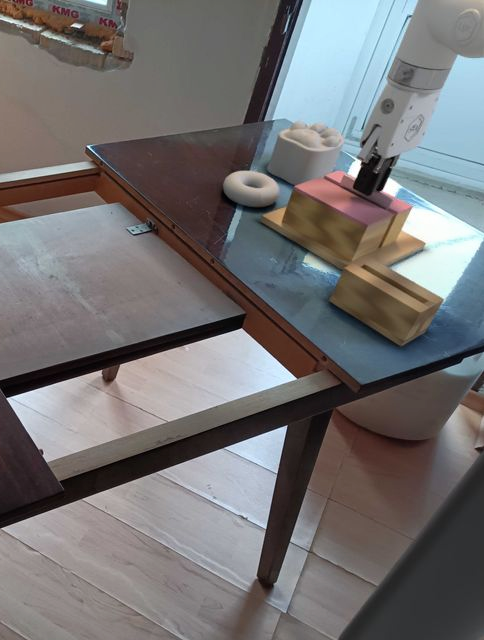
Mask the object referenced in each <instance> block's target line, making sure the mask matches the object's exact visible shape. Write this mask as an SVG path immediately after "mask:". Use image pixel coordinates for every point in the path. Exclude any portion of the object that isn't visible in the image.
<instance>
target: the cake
mask: <svg viewBox="0 0 484 640" xmlns="http://www.w3.org/2000/svg"><path fill="white" fill-rule="evenodd" d="M393 215H394V214H392V213H390V212H388V211H386V210H384V209H382V208H380V207H378V206H376V205H374V204H372V203H370V202H368V201H367V200H365V199H363V198H361V197H359V196H357V195H355V194H353V193H351V192H349V191H347V190H345V189H343V188H341V187H339V186H337V185H335V184H333V183H331V182H329V181H327V180H325V179H323V178H321V177H319V178H316V179H313V180H310V181H307V182H304V183H302V184H299V185H294V186H293V188H292V191H291V193H290V196H289V199H288V202H287V205H286V206H284V207H280V208H278V209H275V210H273V211H270V212H267V213H265V214H262V215H261V217H260V221H259V222H260V223H262V224H263V225H265V226H267V227H268V228H270V229H272V230H273V231H275V232H277V233H279V234H280V235H282V236H284V237H286V238H287V239H288V240H291V241H293V242H295V243H296V244H297V245H298V246H300V247H303V248H304V249H305V250H307V251H310V252H311V253H313V254H315V255H316V256H318V257H319V258H321V259H323V260H325V261H326V262H328V263H330V264H331V265H333V266H334V267H336V268H338V269H340V270H341V271H343V269H344V268H345V267H347V266H349V265H351V264H353V263H356V262H358V261H360V260H362V259H364V258H366V257H370V258H372V259H374V260H376V261H377V262H379V263H381V264H383V265H385V266H386V267H389V266H391V265H394V264H395V263H397V262H399V261H402V260H403V259H405V258H408V257H410V256H412V255H414V254H416V253H418V252H420V251H422V250H424V248H425V246H426V244H427V242H425V241H423V240H421V239H419V238H417V237H415V236H413V235H411V234H409V233H407V232H406V231H404V230H402V229H401V231H400V233H399V235H398V237H397V239H396V241H395V242H392V243H390V244H388V245H386V246H384V247H382V248H381V247H379V244H380V242H381V240H382V238H383V236H384V234H385V232H386V230H387V227H388V225H389V223H390V221H391V219H392V217H393Z"/></svg>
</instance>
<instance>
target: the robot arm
mask: <svg viewBox="0 0 484 640" xmlns="http://www.w3.org/2000/svg"><path fill="white" fill-rule="evenodd" d="M408 22H409V23H408V24H407V27H406V29H405V32H404V34H403V36H402V39H401V42H400V43H399V46H398V49H397V52H396V53H395V56H394V59H393V60H392V63H391V65H390V68H389V71H388V73H387V75H386V78H385V79H386V84H385V86H384V87H383V90H382V91H381V93H380V95H379V97H378V99H377V101H376V103H375V105H374V106H373V109H372V110H371V113H370V115H369V118H368V120H367V122H366V124H365V126H364V129H363V132H362V134H361V136H360V139H359V147H360V148H361V150H360V151H359V153H358V154H357V156H356V159H357V160H359V161H361V162H360V165H359V166H360V168H359V170H358V172H357V175H356V177H355V178H356V180H355V182H354V184H353V189H354V190H356V191H358V192H360V193H362V194H364V195H366V196H370V195H372V193H373V191H374V188H375V186H376V184H377V182H378V179H379V177H380V175H381V173H380V172H379V171H380V169H381V167H382V165H383V162H384V160H385V159H386V158H390V159H392V161H391V163H390V165H389V167H388V169H387V171H386V173H385V175H384V178H383V180H382V182H381V184H380V186H379V188H377V189H375V190H377V191H379V192H380V191H384V188H385V186H386V185H387V182H388V181H389V178H390V175H391V174H392V171H393V168H395V166H397V163H398V161H399V159H400V156H401V155H402V154H404V153H407V152H410V151H412V150H414V149H417V148H418V147H419V146H420V145H421V143H422V141H423V139H424V136H425V134H426V132H427V129H428V127H429V124H430V122H431V119H432V117H433V115H434V112H435V111H436V107H437V104H438V101H439V98H440V95H441V92H442V90H443V89H444V87H445V84H446V81H447V79H448V78H449V75H450V73H451V71H452V69H453V66H454V64H455V62H456V60H457V58H458V56H460V57H464V58H466V59H482V58H483V59H484V0H417V1H416V5H415V7H414V9H413V12H412V14H411V17H410V20H409V21H408ZM372 155H375V156H378V160H376V158H375V157H373V156H372Z"/></svg>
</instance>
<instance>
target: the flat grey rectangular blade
mask: <svg viewBox="0 0 484 640" xmlns="http://www.w3.org/2000/svg"><path fill="white" fill-rule="evenodd" d="M372 156H373V157H375V158H376V160H378V156H375V155H373V154H372ZM391 161H392V159H390V158H386V159H385V160H384V162H383V165H382V167H381V169H380V171H379V172H380V173H381V175H380V177H379V179H378V182H377V184H376V186H375V188H374V191H373V193H372V195H370V196H366V195H364V194H362V193H360V192H358V191H356V190H354V189H353V184H354V182H355V180H356V179H354V178H352V177H350V176H348V175H346V174H344V175H343V178H342V180H341V182H340V185H339V187H341V188H343V189H345V190H347V191H349V192H351V193H353V194H355V195H357V196H359V197H361V198H363V199H365V200H367V201H368V202H370V203H372V204H374V205H376V206H378V207H380V208H382V209H384V210H386V211H388V209H389V207H390V205H391V203H392V201H393V198H391V197H389V196H387V195H385V194H383V193H381V192H379V191H377V190H375V189H377V188H379V186H380V184H381V182H382V180H383V178H384V175H385V173H386V171H387V169H388V167H389V165H390V163H391Z"/></svg>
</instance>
